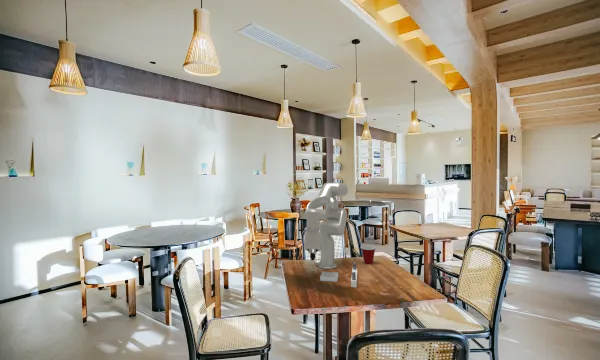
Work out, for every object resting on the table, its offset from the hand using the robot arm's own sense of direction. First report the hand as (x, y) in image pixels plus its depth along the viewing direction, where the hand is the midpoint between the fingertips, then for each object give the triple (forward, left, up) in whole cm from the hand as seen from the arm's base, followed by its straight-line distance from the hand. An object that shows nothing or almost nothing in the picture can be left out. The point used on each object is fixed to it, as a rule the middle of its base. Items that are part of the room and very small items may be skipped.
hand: (312, 259), depth 197 cm
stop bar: (+25, +1, -11) cm, 27 cm away
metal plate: (+10, +1, -12) cm, 15 cm away
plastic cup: (+34, +41, -11) cm, 54 cm away
